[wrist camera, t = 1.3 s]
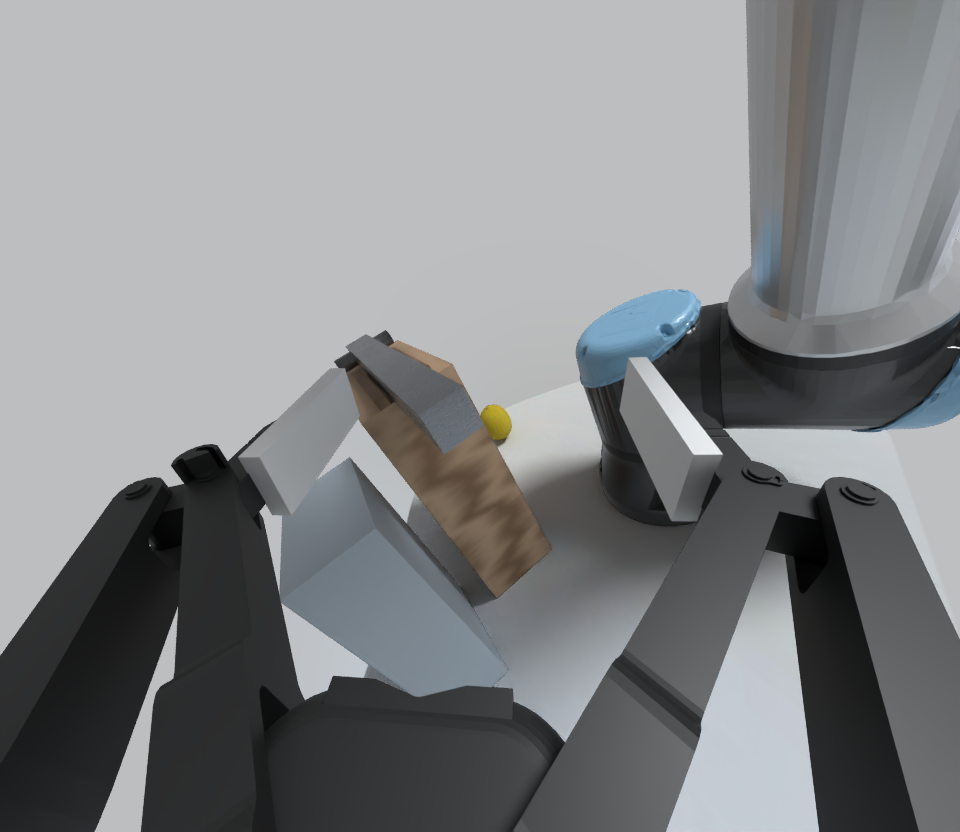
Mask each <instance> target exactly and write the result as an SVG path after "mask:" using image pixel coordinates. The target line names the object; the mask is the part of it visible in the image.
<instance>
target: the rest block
mask: <svg viewBox="0 0 960 832" xmlns="http://www.w3.org/2000/svg"><path fill="white" fill-rule="evenodd" d="M279 596H280V600H281V603H282V604H284V605H285V606H286V607H288V608H289V609H291V610H292V611H293V612H295V613H296V614H298V615H299V616H301V617H302V618H303V619H305V620H306V621H308V622H309V623H310V624H312V625H313V626H315V627H316V628H318V629H319V630H320V631H322V632H323V633H325V634H326V635H327V636H329V637H330V638H332V639H333V640H334V641H336V642H337V643H339V644H340V645H342V646H343V647H344V648H346V649H347V650H349V651H350V652H352V653H353V654H354V655H356V656H357V657H359V658H360V659H362V660H363V661H364V662H366V663H367V664H369V665H370V666H371V667H373V668H374V669H376V670H377V671H378V672H380V673H381V674H383V675H384V676H386V677H387V678H388V679H390V680H391V681H393V682H394V683H395V684H397V685H398V686H400V687H401V688H403V689H404V690H405V691H407V692H408V693H410V694H411V695H413V696H416V697H421V696H426V695H430V694H434V693H438V692H442V691H446V690H450V689H454V688H458V687H462V686H466V685H468V686H481V687H492V686H493V685H494V684H495V683H496V682H497V681H498V680H499V679H500V678H501V677H502V676H504V675H505V674H506V673H507V672H508V671H509V670H508V668H507V667H506V665H505V663H504V661H503V660H502V658H501V656H500V655H499V653H498V651H497V649H496V648H495V646H494V644H493V642H492V641H491V639H490V637H489V636H488V634H487V632H486V630H485V629H484V627H483V625H482V624H481V622H480V620H479V618H478V617H477V615H476V613H475V611H474V610H473V608H472V606H471V605H470V603H469V601H468V599H467V598H466V596H465V594H464V593H463V591H462V589H461V587H460V586H459V585H458V584H457V582H456V581H455V580H454V579H453V578H452V577H451V575H450V574H449V573H448V572H447V571H446V569H445V568H444V567H443V566H442V565H441V564H440V562H439V561H438V560H437V559H436V558H435V557H434V555H433V554H432V553H431V552H430V551H429V550H428V548H427V547H426V546H425V545H424V544H423V543H422V541H421V540H420V539H419V538H418V537H417V535H416V534H415V533H414V532H413V531H412V530H411V528H410V527H409V526H408V525H407V524H406V523H405V521H404V520H403V519H402V518H401V517H400V516H399V514H398V513H397V512H396V511H395V510H394V509H393V507H392V506H391V505H390V504H389V503H388V502H387V500H386V499H385V498H384V497H383V496H382V494H381V493H380V492H379V491H378V490H377V489H376V487H375V486H374V485H373V484H372V483H371V482H370V480H369V479H368V478H367V477H366V476H365V474H364V473H363V472H362V471H361V470H360V469H359V468H358V467H357V465H356V464H355V463H354V462H353V461H352V459H351V458H348V459H346V460H345V461H343V462H342V463H341V464H339V465H338V466H336V467H335V468H333V469H332V470H330V471H329V472H327V473H326V474H325V475H323V476H322V477H320V478H319V479H317V480H316V481H315V482H314V484H313V485H312V487H311V488H310V490H309V491H308V493H307V494H306V495H305V497H304V498H303V500H302V501H301V503H300V504H299V506H298V507H297V509H296V510H295V511H294V513H293V514H292V515H282V539H281V569H280V595H279Z"/></svg>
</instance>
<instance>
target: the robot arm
mask: <svg viewBox="0 0 960 832" xmlns="http://www.w3.org/2000/svg"><path fill="white" fill-rule="evenodd" d="M746 14H747V15H746V16H747V63H748V64H747V65H748V115H749V164H750V214H751V267H750V268H749V269H748V270H746V271H745V273H743V274H742V276H741V277H740V278H739V279H738V280H737V282H736V283H735V284H734V286H733V288H732V290H731V293H730V296H729V301H728V302H724V303H718V304H713V305H708V306H702V307H701V304H700V301H699V300H698V299H697V298H696V296H695V295H694V293H692V292H690V291H688V290H683V289H679V290H677V291H675V290H673V289H669V290H662V291H658V292H654V293H650V294H647V295H644V296H641V297H638V298H635V299H633V300H630V301H628V302H626V303H624V304H622V305H619V306H618V307H616V308H614V309H612V310H610V311H609V312H607V313H606V314H604V315H602V316H601V317H600V318H598V319H597V320H596V321H595V322H593V323H592V324H591V325H590V326H589V327H588V328H587V329H586V330H585V331H584V333H583V334H582V335H581V337H580V339H579V340H578V343H577V346H576V359H577V363H578V367H579V371H580V381H581V384H582V385H583V386H584V389H585V392H586V395H587V398H588V401H589V404H590V407H591V410H592V413H593V416H594V419H595V421H596V424H597V427H598V430H599V433H600V436H601V439H602V450H601V457H602V458H601V461H600V466H599V476H600V481H601V484H602V487H603V490H604V492H605V495H606V497H607V498H608V500H609V501H610V503H611V504H612V505H613V506H614V507H615V508H616V509H617V510H619V511H620V512H621V513H623V514H625V515H626V516H628V517H630V518H632V519H635V520H637V521H640V522H643V523H647V524H653V525H660V526H677V525H684V524H689V523H693V522H697V521H699V522H698V523H697V525H696V527H695V529H694V530H693V532H692V534H691V535H690V537H689V539H688V541H687V542H686V544H685V546H684V547H683V549H682V551H681V553H680V554H679V556H678V558H677V559H676V561H675V563H674V565H673V566H672V568H671V570H670V572H669V573H668V575H667V577H666V578H665V580H664V582H663V584H662V585H661V587H660V589H659V590H658V592H657V594H656V596H655V597H654V599H653V601H652V602H651V604H650V606H649V608H648V609H647V611H646V613H645V615H644V616H643V618H642V620H641V621H640V623H639V625H638V627H637V628H636V630H635V632H634V633H633V635H632V637H631V639H630V640H629V642H628V644H627V645H626V647H625V649H624V651H623V652H622V654H621V655H620V656H619V657H618V658H617V659H615V661H614V662H613V663H612V665H611V666H610V668H609V670H608V671H607V673H606V674H605V676H604V678H603V680H602V681H601V683H600V685H599V686H598V688H597V690H596V691H595V693H594V695H593V696H592V698H591V700H590V702H589V703H588V705H587V707H586V708H585V710H584V712H583V713H582V715H581V717H580V719H579V720H578V722H577V724H576V725H575V727H574V729H573V730H572V732H571V734H570V735H569V737H568V739H567V741H566V742H564V741H563V740H562V738H561V737H560V736H559V735H558V733H557V732H556V731H555V730H554V729H553V728H552V727H551V726H550V725H549V724H548V723H547V722H546V721H545V720H544V719H542V718H541V717H540V716H539V715H537V714H536V713H535V712H533V711H531V710H530V709H528V708H526V707H525V706H522V705H520V704H518V703H515V702H514V699H513V689H509V688H495V687H481V686H468V685H466V686H462V687H458V688H454V689H450V690H446V691H442V692H438V693H434V694H430V695H426V696H421V697H416V696H412V695H410V694H408V693H406V692H403V691H401V690H399V689H397V688H394V687H392V686H390V685H388V684H385V683H383V682H381V681H379V680H376V679H370V678H356V677H355V678H354V677H341V676H333V677H332V680H331V683H330V685H329V688H328V691H325V692H322V693H320V694H317V695H314V696H312V697H310V698H309V699H307V700H304V698H303V695H302V694H301V691H300V688H299V685H298V681H297V677H296V672H295V667H294V662H293V658H292V653H291V648H290V643H289V639H288V634H287V629H286V624H285V620H284V615H283V610H282V605H281V600H280V596H279V591H278V586H277V582H276V577H275V572H274V567H273V563H272V558H271V553H270V548H269V543H268V539H267V534H266V529H265V524H264V520H263V517H262V516H261V514H260V513H259V511H260V510H261V509H262V508H263V506H264V505H265V504H266V505H267V507H268V509H269V510H270V512H271V514H272V515H292V514H293V513H294V511H295V510H296V509H297V507H298V506H299V504H300V503H301V501H302V500H303V498H304V497H305V495H306V494H307V493H308V491H309V490H310V488H311V487H312V485H313V484H314V482H315V481H316V479H317V478H318V476H319V475H320V474H321V472H322V471H323V469H324V468H325V466H326V465H327V463H328V462H329V460H330V459H331V458H332V456H333V455H334V453H335V452H336V450H337V449H338V447H339V446H340V444H341V443H342V441H343V440H344V439H345V437H346V436H347V434H348V433H349V431H350V430H351V428H352V427H353V425H354V424H355V422H356V421H357V420H358V418H359V417H360V414H359V411H358V408H357V405H356V402H355V399H354V396H353V392H352V389H351V386H350V383H349V380H348V377H347V374H346V371H345V368H334V369H329V370H328V371H327V372H326V373H325V374H324V375H323V376H322V377H321V378H320V379H319V380H318V381H317V382H315V383H314V384H313V385H312V386H311V388H309V389H308V390H307V391H306V392H305V393H304V394H303V395H302V396H301V397H300V398H299V399H298V400H297V401H296V402H295V403H294V404H293V405H292V406H291V407H290V408H288V409H287V410H286V411H285V412H284V414H282V415H281V416H280V417H279V418H278V419H277V420H276V421H274V422H272V423H271V424H269V425H267V426H265V427H264V428H263V429H262V430H260V431H259V432H258V433H257V434H256V435H255V437H253V438H252V439H251V440H250V441H249V442H248V444H246V445H245V446H244V447H243V448H241V449H240V450H239V451H238V452H237V453H236V454H235V455H234V456H233V457H232V458H231V459H230V460H229V461H227V460H226V458H225V457H224V455H223V453H222V452H221V450H220V449H219V447H218V446H217V445H213V444H209V445H202V446H199V447H195V448H193V449H190V450H188V451H186V452H185V453H183V454H181V455H179V456H178V457H177V458H176V459H175V460H174V461H173V463H172V465H171V466H172V468H173V469H174V470H175V472H176V473H177V474H178V476H179V477H180V478H181V480H182V481H183V482H184V484H182V485H177V486H173V487H168V486H167V485H166V484H165V483H164V481H163V480H162V479H161V478H156V477H153V478H147V479H144V480H141V481H136V482H134V483H133V484H130V485H128V486H127V487H126V488H124V489H123V490H122V491H120V492H119V493H118V494H117V495H116V496H115V497H114V498H113V499H112V501H111V502H110V503H109V505H108V506H107V508H106V509H105V510H104V512H103V513H102V515H101V516H100V517H99V519H98V520H97V522H96V523H95V525H94V526H93V527H92V529H91V530H90V531H89V533H88V534H87V536H86V537H85V538H84V540H83V541H82V543H81V544H80V545H79V547H78V548H77V549H76V551H75V552H74V554H73V555H72V556H71V558H70V559H69V561H68V562H67V563H66V565H65V566H64V568H63V569H62V570H61V572H60V573H59V575H58V576H57V577H56V579H55V580H54V582H53V583H52V585H51V586H50V587H49V589H48V590H47V591H46V593H45V594H44V596H43V597H42V598H41V600H40V601H39V602H38V604H37V605H36V607H35V608H34V609H33V611H32V612H31V614H30V615H29V617H28V618H27V619H26V621H25V622H24V624H23V625H22V626H21V628H20V629H19V630H18V632H17V633H16V635H15V636H14V637H13V639H12V640H11V642H10V643H9V644H8V646H7V647H6V649H5V650H4V651H3V653H2V654H1V655H0V832H94V831H95V829H96V827H97V825H98V823H99V820H100V818H101V815H102V813H103V810H104V808H105V805H106V803H107V800H108V798H109V796H110V793H111V791H112V788H113V785H114V782H115V780H116V777H117V774H118V771H119V769H120V766H121V763H122V760H123V757H124V755H125V752H126V749H127V746H128V744H129V741H130V738H131V735H132V732H133V729H134V727H135V724H136V721H137V718H138V716H139V713H140V710H141V707H142V705H143V702H144V699H145V696H146V693H147V691H148V688H149V685H150V682H151V680H152V677H153V674H154V671H155V668H156V666H157V663H158V660H159V657H160V655H161V652H162V649H163V646H164V644H165V641H166V638H167V635H168V632H169V630H170V627H171V624H172V621H173V618H174V616H175V613H176V610H177V607H178V620H177V637H176V655H175V673H174V678H173V679H172V680H171V681H169V682H167V683H166V684H164V685H162V686H161V687H160V688H159V690H158V691H157V693H156V695H155V699H154V704H153V712H152V723H151V733H150V743H149V754H148V764H147V775H146V785H145V795H144V806H143V816H142V826H141V832H666V830H667V827H668V824H669V821H670V819H671V816H672V813H673V810H674V808H675V805H676V802H677V799H678V797H679V794H680V791H681V788H682V786H683V783H684V780H685V777H686V775H687V772H688V769H689V766H690V764H691V761H692V758H693V755H694V753H695V750H696V747H697V744H698V741H699V737H700V733H701V720H702V717H703V714H704V711H705V708H706V706H707V703H708V700H709V698H710V695H711V692H712V690H713V687H714V684H715V682H716V679H717V676H718V674H719V671H720V668H721V666H722V663H723V660H724V658H725V655H726V652H727V650H728V647H729V644H730V642H731V639H732V636H733V634H734V631H735V628H736V626H737V623H738V620H739V617H740V615H741V612H742V609H743V607H744V604H745V601H746V599H747V596H748V593H749V591H750V588H751V585H752V583H753V580H754V577H755V575H756V572H757V569H758V567H759V564H760V561H761V559H762V556H763V553H764V551H765V549H766V550H770V551H774V552H778V553H782V554H785V557H786V565H787V573H788V581H789V590H790V598H791V606H792V614H793V622H794V630H795V638H796V646H797V655H798V663H799V671H800V679H801V687H802V695H803V703H804V711H805V720H806V728H807V736H808V744H809V752H810V760H811V768H812V776H813V785H814V793H815V801H816V809H817V817H818V825H819V832H960V639H959V637H958V635H957V633H956V630H955V628H954V626H953V624H952V622H951V620H950V618H949V616H948V613H947V611H946V609H945V607H944V605H943V603H942V601H941V599H940V597H939V594H938V592H937V590H936V588H935V586H934V584H933V582H932V580H931V577H930V575H929V573H928V571H927V569H926V567H925V565H924V563H923V560H922V558H921V556H920V554H919V552H918V550H917V548H916V546H915V544H914V541H913V539H912V537H911V535H910V533H909V531H908V529H907V527H906V524H905V522H904V520H903V518H902V516H901V514H900V512H899V510H898V507H897V505H896V504H895V502H894V501H893V500H892V499H891V497H890V496H888V495H887V494H886V493H884V492H883V491H881V490H880V489H878V488H876V487H875V486H873V485H870V484H868V483H866V482H862V481H859V480H856V479H852V478H845V477H834V478H830V479H828V480H826V481H825V483H824V484H823V486H822V487H821V489H819V488H813V487H808V486H803V485H798V484H793V483H789V482H788V481H787V479H786V478H785V477H784V475H783V474H782V473H780V472H779V471H777V470H776V469H775V468H772V467H770V466H768V465H766V464H763V463H759V462H755V461H751V460H750V458H749V457H748V456H747V455H746V454H745V453H744V452H743V450H742V449H741V448H740V447H739V446H738V445H737V443H736V442H735V441H734V440H733V439H732V438H731V437H729V436H730V435H729V434H728V433H727V432H726V431H725V430H723V428H725V429H826V430H852V431H857V432H879V431H882V430H888V429H916V428H925V427H929V426H934V425H938V424H941V423H943V422H946V421H948V420H950V419H952V418H954V417H955V416H957V415H958V414H960V241H959V240H957V239H955V238H956V236H957V234H958V231H959V229H960V0H746ZM149 544H150V545H151V546H149Z"/></svg>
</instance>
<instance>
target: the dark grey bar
mask: <svg viewBox="0 0 960 832" xmlns="http://www.w3.org/2000/svg"><path fill="white" fill-rule="evenodd" d="M392 344H394V341H393V339H392V337H391V336H390V335H389V333H388V332H387V331H386V330H385V331H383V332H382V333H380V334H378V335H377V336H375V337H373V338H372V337H370V336H368V335H364V336H362V337H361V338H359V339H357V340H356V341H354V342H352V343H351V344H349V345H348V346H346V348H347V349H348V351H349V353H347V354H346V355H344V356H342V357H340V358H339V359H337V360H336V361H334V362H335V363H336V365H337V366H338V368H345V371H346V373H347V372H349V371H350V370H352V369H353V368H355V367H357V366H358V365H359V366H360V367H361V368H362V369H363V370H364V371H365V373H366V374H367V375H368V376H369V377H370V378H371V379H372V380H373V381H374V382H375V383H376V384H377V385H378V386H379V387H380V388H381V389H382V390H383V391H384V392H385V393H386V394H387V395H388V396H389V397H390V398H391V400H392V401H393V402H394V403H395V404H396V405H397V406H398V407H399V408H400V409H401V410H402V411H403V412H404V413H405V414H406V415H407V416H408V417H409V418H410V419H411V420H412V421H413V422H414V423H415V424H416V425H417V427H418V428H419V429H420V430H421V431H422V432H423V433H424V434H425V435H426V436H427V437H428V438H429V439H430V440H431V441H432V442H433V443H434V444H435V445H436V446H437V447H438V448H439V449H440V450H441V451H442V452H443V454H446V453H447V452H449V451H450V450H451V449H453V448H454V447H455V446H457V445H458V444H459V443H461V442H462V441H463V440H465V439H466V438H467V437H469V436H470V435H471V434H473V433H474V432H476V431H477V430H478V429H480V428H481V427H482V426H484V424H483V422H482V420H481V419H480V417H479V415H478V413H477V411H476V409H475V407H474V406H473V404H472V402H471V400H470V398H469V396H468V395H467V393H466V391H465V389H464V387H463V386H462V385H461V384H459V383H457V382H455V381H453V380H451V379H449V378H447V377H445V376H444V375H442V374H440V373H438V372H436V371H434V370H432V369H430V368H428V367H427V366H425V365H423V364H421V363H419V362H417V361H415V360H413V359H411V358H410V357H408V356H406V355H404V354H402V353H400V352H398V351H396V350H394V349H393V348H391V347H389V346H390V345H392Z"/></svg>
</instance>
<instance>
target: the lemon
mask: <svg viewBox="0 0 960 832" xmlns="http://www.w3.org/2000/svg"><path fill="white" fill-rule="evenodd" d="M480 417H481V418H482V420H483V422H484V424H485V426H486V428H487V430H488V431H489V433H490V435H491V437H492V439H495V440H500V439H505V438H506V437H507V436H508V435H509V433H510V431H511V428H512V424H511V419H510V417H509V415H508V413H507V412H506V411H505V410H504V409H503V408H502V407H501V406H498V405H488V406H486V408H484V410H483V411H482V413H481V416H480Z"/></svg>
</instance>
